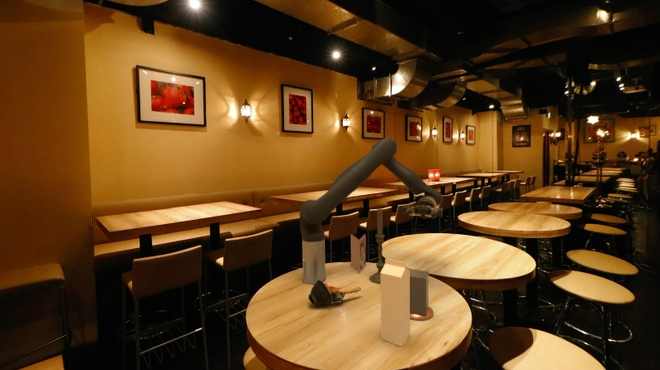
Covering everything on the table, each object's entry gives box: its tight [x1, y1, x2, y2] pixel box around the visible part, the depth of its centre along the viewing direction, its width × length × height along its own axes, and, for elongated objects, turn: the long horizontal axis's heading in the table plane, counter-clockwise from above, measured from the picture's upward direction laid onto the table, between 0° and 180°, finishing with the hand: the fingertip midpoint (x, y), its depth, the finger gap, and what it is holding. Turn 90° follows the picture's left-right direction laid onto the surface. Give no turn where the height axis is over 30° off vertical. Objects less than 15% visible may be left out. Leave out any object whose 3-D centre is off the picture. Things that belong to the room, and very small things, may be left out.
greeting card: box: [350, 233, 367, 274], centre depth 136 cm, size 11×7×15 cm, turn 160°
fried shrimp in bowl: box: [308, 280, 362, 307], centre depth 105 cm, size 9×11×18 cm
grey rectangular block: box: [407, 268, 430, 317], centre depth 96 cm, size 6×6×12 cm
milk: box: [380, 258, 411, 347], centre depth 82 cm, size 6×6×22 cm
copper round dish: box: [410, 305, 434, 322], centre depth 96 cm, size 10×10×6 cm
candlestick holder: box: [368, 208, 385, 285], centre depth 122 cm, size 9×9×30 cm
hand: (419, 215), depth 106 cm, fingers open, 8 cm apart
